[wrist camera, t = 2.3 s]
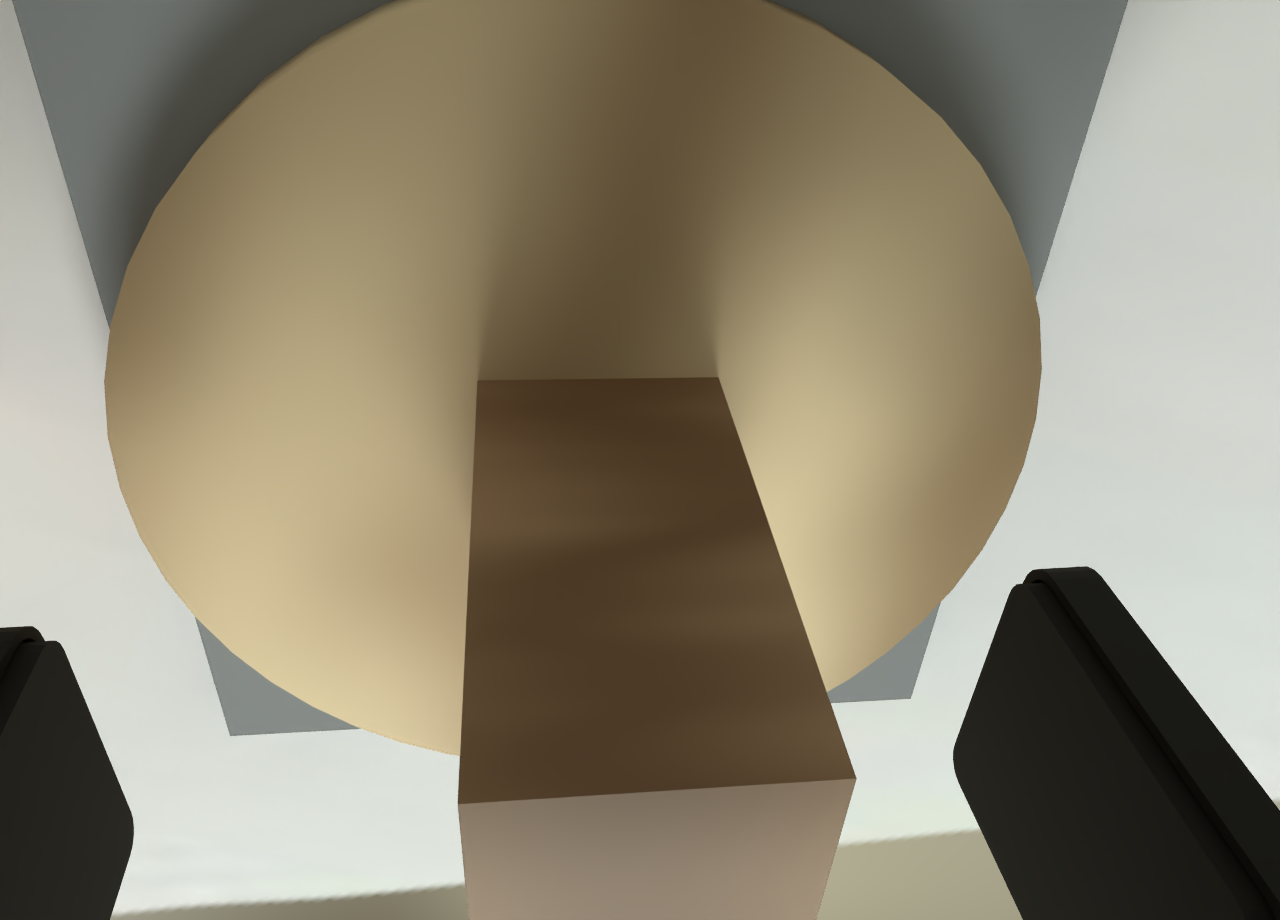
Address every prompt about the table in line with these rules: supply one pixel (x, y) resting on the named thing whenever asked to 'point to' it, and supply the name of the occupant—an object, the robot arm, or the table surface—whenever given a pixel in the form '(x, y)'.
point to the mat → (319, 3)
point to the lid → (581, 419)
